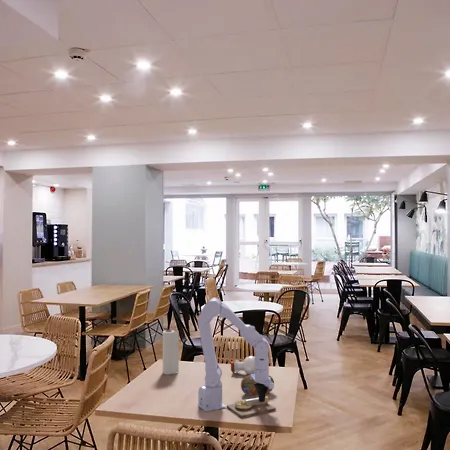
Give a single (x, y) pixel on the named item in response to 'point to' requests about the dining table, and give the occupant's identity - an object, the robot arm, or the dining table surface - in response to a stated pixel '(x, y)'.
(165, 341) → the paper towel roll
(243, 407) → the switch lever
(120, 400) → the dining table surface
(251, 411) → the lever switch plate
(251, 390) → the tin
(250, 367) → the potion bottle
